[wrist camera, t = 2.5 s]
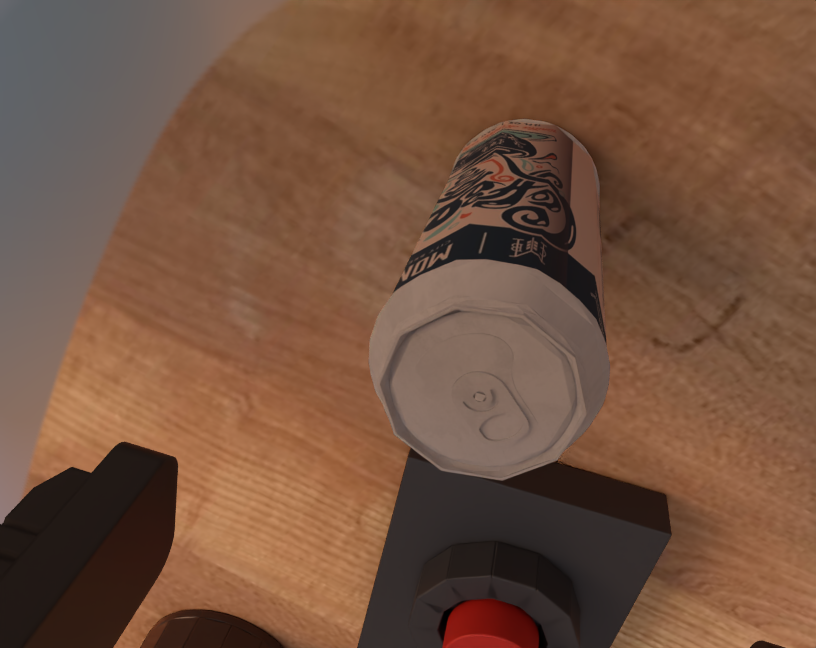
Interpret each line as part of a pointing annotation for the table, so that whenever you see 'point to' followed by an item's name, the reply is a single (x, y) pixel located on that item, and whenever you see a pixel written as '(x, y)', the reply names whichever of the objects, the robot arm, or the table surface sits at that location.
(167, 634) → the holder
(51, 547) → the robot arm
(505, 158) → the beer can
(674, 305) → the table surface
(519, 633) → the button
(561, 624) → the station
